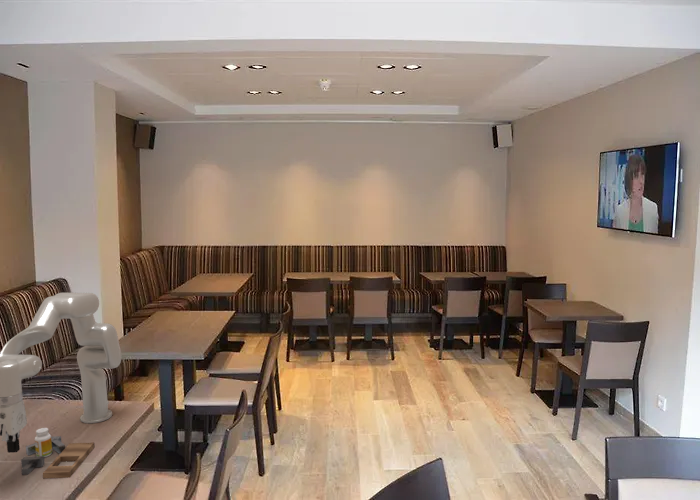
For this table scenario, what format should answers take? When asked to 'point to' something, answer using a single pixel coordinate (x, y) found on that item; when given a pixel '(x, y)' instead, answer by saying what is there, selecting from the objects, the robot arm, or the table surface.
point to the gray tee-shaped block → (31, 464)
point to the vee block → (56, 446)
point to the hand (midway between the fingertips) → (13, 451)
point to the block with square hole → (70, 453)
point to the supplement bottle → (43, 443)
